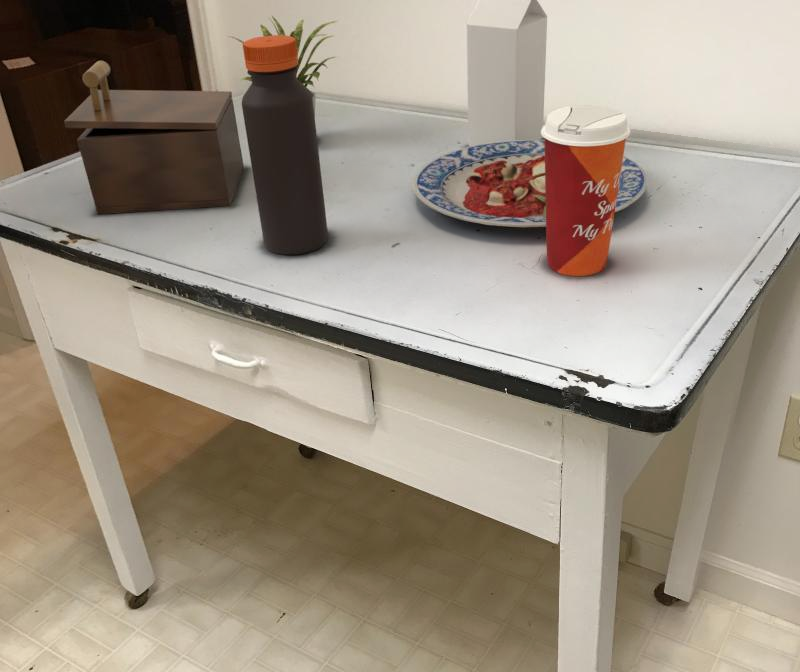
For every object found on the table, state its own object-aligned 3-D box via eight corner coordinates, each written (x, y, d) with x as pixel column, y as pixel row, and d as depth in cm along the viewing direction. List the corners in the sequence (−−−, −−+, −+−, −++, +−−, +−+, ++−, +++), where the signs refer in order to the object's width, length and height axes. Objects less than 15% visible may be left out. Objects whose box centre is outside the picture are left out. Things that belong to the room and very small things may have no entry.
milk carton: (515, 155, 108) (518, -9, 97) (467, 147, 111) (465, -13, 100) (543, 139, 112) (549, -20, 101) (496, 131, 116) (497, -23, 105)
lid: (65, 128, 94) (55, 80, 91) (96, 96, 104) (88, 52, 101) (216, 129, 94) (211, 82, 91) (232, 98, 105) (228, 54, 102)
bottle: (258, 257, 87) (224, 51, 76) (270, 229, 93) (240, 34, 82) (324, 255, 87) (299, 48, 75) (332, 228, 92) (310, 30, 81)
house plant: (376, 134, 118) (367, 6, 108) (314, 166, 109) (298, 29, 99) (296, 122, 125) (281, 0, 115) (231, 151, 115) (209, 22, 106)
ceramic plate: (405, 166, 107) (403, 142, 105) (608, 149, 107) (610, 125, 106) (424, 254, 86) (423, 226, 84) (678, 232, 86) (682, 204, 85)
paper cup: (596, 288, 78) (609, 135, 70) (521, 270, 81) (525, 123, 73) (631, 255, 83) (646, 108, 75) (558, 239, 87) (566, 98, 79)
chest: (97, 214, 100) (76, 139, 95) (123, 176, 110) (106, 106, 105) (230, 205, 99) (216, 130, 94) (244, 168, 110) (232, 98, 105)
